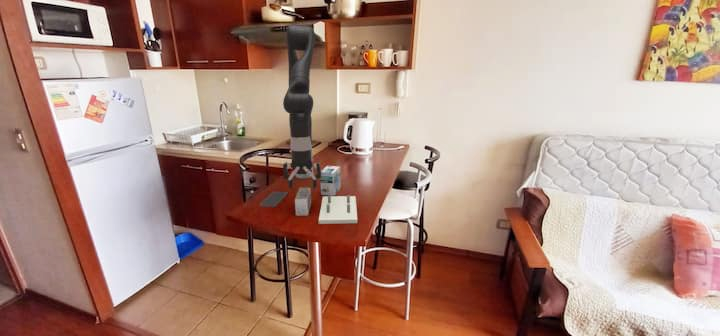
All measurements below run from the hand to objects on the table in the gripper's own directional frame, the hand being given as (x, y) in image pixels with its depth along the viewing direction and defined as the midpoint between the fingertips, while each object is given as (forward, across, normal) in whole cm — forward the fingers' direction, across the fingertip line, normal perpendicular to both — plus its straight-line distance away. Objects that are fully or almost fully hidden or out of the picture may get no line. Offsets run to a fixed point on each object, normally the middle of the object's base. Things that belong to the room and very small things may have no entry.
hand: (303, 188), depth 119 cm
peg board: (+9, -14, +2) cm, 17 cm away
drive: (+9, 0, 0) cm, 9 cm away
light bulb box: (+9, -10, -19) cm, 23 cm away
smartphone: (+9, +14, -10) cm, 20 cm away
